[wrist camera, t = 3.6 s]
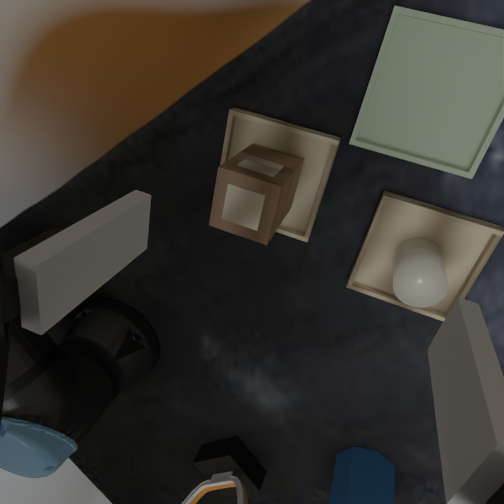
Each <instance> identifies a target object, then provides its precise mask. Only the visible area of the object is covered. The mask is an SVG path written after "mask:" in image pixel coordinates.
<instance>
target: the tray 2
mask: <svg viewBox="0 0 504 504" xmlns="http://www.w3.org/2000/svg"><path fill="white" fill-rule="evenodd" d="M503 118H504V30H503V29H498V28H494V27H489V26H485V25H480V24H476V23H471V22H467V21H462V20H458V19H453V18H449V17H444V16H440V15H435V14H431V13H426V12H422V11H417V10H413V9H408V8H404V7H399V6H394V9H393V12H392V15H391V18H390V21H389V24H388V27H387V30H386V33H385V36H384V39H383V42H382V45H381V48H380V52H379V55H378V58H377V61H376V64H375V67H374V70H373V73H372V76H371V79H370V82H369V85H368V88H367V91H366V94H365V97H364V100H363V103H362V106H361V109H360V112H359V115H358V118H357V121H356V124H355V127H354V130H353V133H352V136H351V139H350V142H349V144H351V145H355V146H358V147H362V148H365V149H369V150H372V151H376V152H379V153H383V154H386V155H390V156H393V157H397V158H400V159H404V160H407V161H411V162H414V163H418V164H421V165H424V166H428V167H431V168H435V169H438V170H442V171H445V172H449V173H452V174H456V175H459V176H463V177H466V178H470V179H472V178H473V176H474V174H475V172H476V170H477V168H478V166H479V164H480V162H481V160H482V159H483V157H484V155H485V153H486V151H487V149H488V147H489V145H490V143H491V141H492V139H493V137H494V135H495V133H496V131H497V130H498V128H499V126H500V124H501V122H502V120H503Z"/></svg>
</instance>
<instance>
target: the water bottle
mask: <svg viewBox="0 0 504 504" xmlns="http://www.w3.org/2000/svg"><path fill="white" fill-rule="evenodd" d="M394 497H395V466H394V465H393V464H392V463H391V462H390V461H389V460H387V459H386V458H385V457H384V456H383V455H382V454H381V453H380V452H378V451H375V450H370V449H365V448H360V447H355V446H353V447H350V448H348V449H346V450H344V451H342V452H339V453H337V455H336V462H335V468H334V475H333V482H332V488H331V495H330V501H329V504H394Z"/></svg>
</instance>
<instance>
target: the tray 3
mask: <svg viewBox="0 0 504 504" xmlns="http://www.w3.org/2000/svg"><path fill="white" fill-rule="evenodd" d="M503 234H504V230H503V228H502V227H501V226H500V225H496V224H493V223H490V222H487V221H483V220H480V219H477V218H473V217H470V216H467V215H464V214H460V213H457V212H454V211H450V210H447V209H444V208H441V207H437V206H434V205H431V204H427V203H424V202H421V201H417V200H414V199H411V198H408V197H404V196H401V195H398V194H394V193H391V192H388V191H385V190H384V192H383V194H382V197H381V199H380V202H379V204H378V207H377V209H376V212H375V214H374V217H373V219H372V222H371V224H370V227H369V229H368V232H367V234H366V236H365V239H364V241H363V244H362V246H361V249H360V251H359V254H358V256H357V259H356V261H355V264H354V266H353V269H352V271H351V274H350V276H349V279H348V282H347V286H346V287H347V288H350V289H353V290H356V291H358V292H361V293H364V294H367V295H370V296H373V297H375V298H378V299H381V300H384V301H387V302H390V303H392V304H395V305H398V306H401V307H404V308H407V309H410V310H412V311H415V312H418V313H421V314H424V315H427V316H429V317H432V318H435V319H438V320H441V321H444V320H445V319H446V317H447V315H448V314H449V312H450V310H451V308H452V307H453V305H454V303H455V302H456V300H457V298H458V297H459V298H462V299H464V298H465V297H466V295H467V293H468V292H469V290H470V288H471V287H472V285H473V283H474V282H475V280H476V278H477V277H478V275H479V273H480V272H481V270H482V269H483V267H484V265H485V264H486V262H487V260H488V259H489V257H490V255H491V254H492V252H493V250H494V249H495V247H496V245H497V244H498V242H499V241H500V239H501V237H502V236H503ZM417 237H419V238H426V239H429V240H431V241H433V242H434V243H436V244H437V245H438V246H439V248H440V249H441V252H442V255H443V260H444V265H445V270H446V275H447V280H448V291H447V294H446V295H445V297H444V298H443V299H442V300H441V301H440V302H439V303H437V304H435V305H433V306H429V307H424V308H419V307H412V306H409V305H407V304H405V303H403V302H402V301H400V300H399V299H398V298H397V296H396V295H395V293H394V290H393V258H394V252H395V250H396V248H397V247H398V246H399V245H400V244H401V243H402V242H404V241H405V240H408V239H411V238H417Z"/></svg>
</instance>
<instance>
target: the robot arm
mask: <svg viewBox="0 0 504 504" xmlns="http://www.w3.org/2000/svg"><path fill="white" fill-rule="evenodd" d="M150 204H151V195H150V194H147V193H144V192H141V191H138V190H134V191H133V192H131V193H129V194H127V195H126V196H124V197H122V198H120V199H118V200H117V201H115V202H113V203H111V204H109V205H108V206H106V207H104V208H102V209H100V210H99V211H97V212H95V213H93V214H91V215H90V216H88V217H86V218H84V219H82V220H81V221H79V222H77V223H75V224H73V225H72V226H70V227H68V228H64V227H58V228H54V229H50V230H47V231H45V232H43V233H41V234H39V235H37V236H36V238H35V237H34V238H32V239H30V240H28V241H27V242H24V243H22V244H20V245H18V246H17V247H15V248H13V249H11V250H9V251H7V252H5V253H3V254H2V252H1V245H0V468H2V469H4V470H6V471H9V472H11V473H14V474H17V475H20V476H24V477H30V478H40V477H45V476H48V475H50V474H52V473H53V472H55V471H56V470H57V469H58V468H59V467H60V466H61V465H62V464H63V462H64V461H65V460H66V459H67V458H68V457H69V456H70V455H71V454H72V453H73V452H75V451H76V449H77V448H78V445H79V444H80V443H81V441H82V440H83V439H84V438H85V436H86V435H87V434H88V432H89V431H90V430H91V429H92V427H93V426H94V425H95V424H96V422H97V421H98V420H99V418H100V417H101V416H102V415H103V413H104V412H105V411H106V410H107V408H108V407H109V406H110V404H111V403H112V402H113V401H114V399H115V398H116V397H117V396H118V395H119V394H120V393H121V392H123V391H124V390H126V389H127V388H129V387H130V386H132V385H134V384H135V383H137V382H138V381H140V380H141V379H143V378H144V377H146V376H147V375H148V374H149V373H150V372H151V370H152V369H153V368H154V366H155V365H156V364H157V362H158V359H159V355H160V348H159V343H158V340H157V337H156V335H155V333H154V331H153V329H152V328H151V327H150V325H149V324H148V323H147V321H146V320H145V319H144V318H143V317H142V316H141V315H139V314H138V313H137V312H136V311H134V310H133V309H131V308H130V307H128V306H126V305H124V304H122V303H119V302H117V301H113V300H106V299H101V300H96V301H93V302H91V303H89V304H88V305H87V306H85V307H84V308H83V309H82V310H81V311H80V312H79V313H78V314H77V315H76V316H75V318H74V320H73V322H72V323H71V325H70V327H69V329H68V331H67V332H66V334H65V336H64V338H63V339H62V341H61V343H60V344H59V345H58V346H56V344H55V343H54V341H53V340H52V339H51V337H50V336H49V335H48V334H47V332H46V331H47V330H49V329H50V328H51V327H52V326H53V325H55V324H56V323H57V322H58V321H59V320H61V319H62V318H63V317H64V316H66V315H67V314H68V313H69V312H70V311H72V310H73V309H74V308H75V307H77V306H78V305H79V304H80V303H81V302H83V301H84V300H85V299H86V298H87V297H89V296H90V295H91V294H92V293H94V292H95V291H96V290H97V289H98V288H100V287H101V286H102V285H103V284H104V283H106V282H107V281H108V280H109V279H111V278H112V277H113V276H114V275H115V274H117V273H118V272H119V271H120V270H121V269H123V268H124V267H125V266H126V265H128V264H129V263H130V262H131V261H132V260H134V259H135V258H136V257H137V256H139V255H140V254H141V253H142V252H143V251H145V250H146V249H147V241H148V229H149V216H150ZM428 357H429V365H430V373H431V382H432V390H433V398H434V406H435V415H436V423H437V431H438V439H439V448H440V456H441V464H442V472H443V481H444V489H445V497H446V504H504V377H503V374H502V371H501V368H500V365H499V362H498V359H497V356H496V353H495V350H494V347H493V345H492V342H491V339H490V336H489V333H488V330H487V327H486V324H485V321H484V318H483V315H482V312H481V309H480V306H479V304H477V303H474V302H471V301H468V300H465V299H462V298H459V297H458V298H457V300H456V302H455V303H454V305H453V307H452V308H451V310H450V312H449V314H448V315H447V317H446V319H445V320H444V322H443V324H442V325H441V327H440V329H439V331H438V332H437V334H436V336H435V337H434V339H433V341H432V342H431V344H430V346H429V348H428Z"/></svg>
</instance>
